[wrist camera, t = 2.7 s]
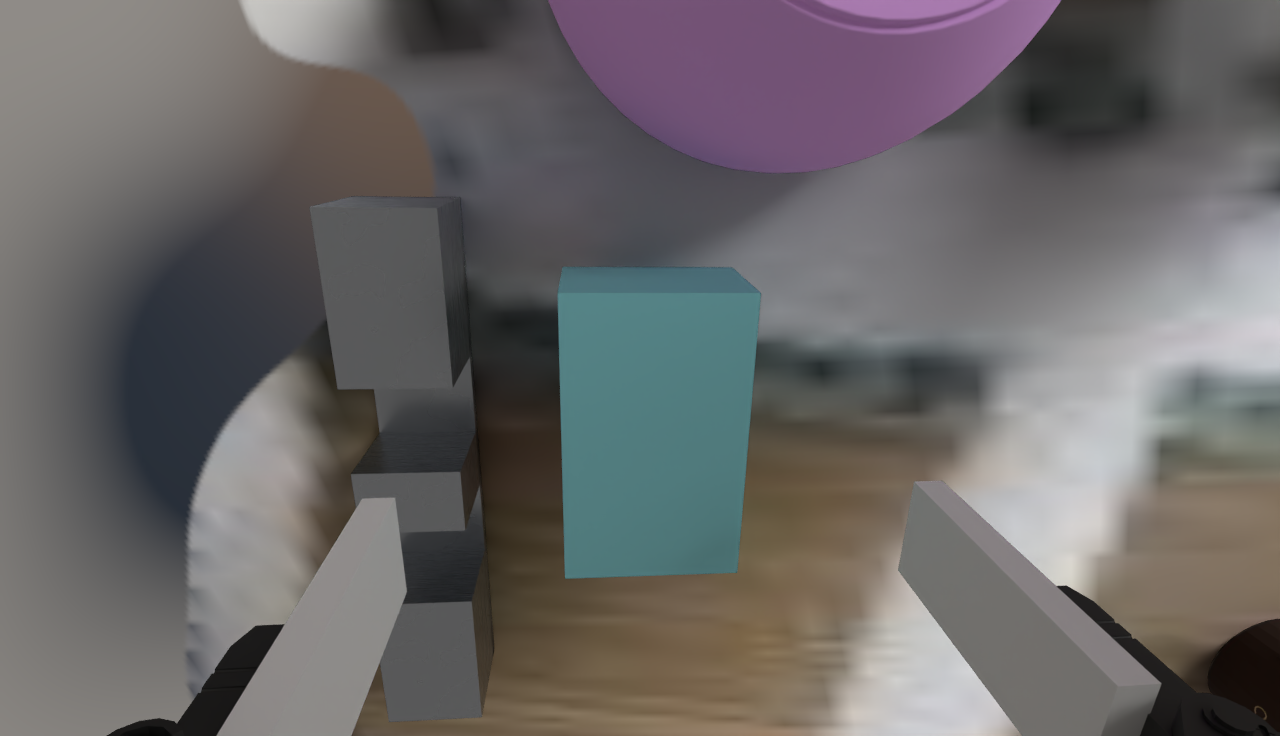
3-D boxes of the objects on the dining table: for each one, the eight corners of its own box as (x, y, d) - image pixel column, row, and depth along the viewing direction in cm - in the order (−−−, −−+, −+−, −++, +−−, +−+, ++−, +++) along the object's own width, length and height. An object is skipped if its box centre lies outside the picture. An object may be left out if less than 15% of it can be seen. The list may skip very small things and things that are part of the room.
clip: (565, 250, 25) (557, 293, 18) (713, 251, 26) (760, 293, 19) (570, 471, 29) (565, 578, 22) (701, 468, 29) (736, 572, 22)
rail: (352, 196, 24) (309, 206, 20) (460, 197, 24) (437, 208, 21) (412, 652, 31) (389, 721, 28) (494, 649, 32) (481, 717, 28)
